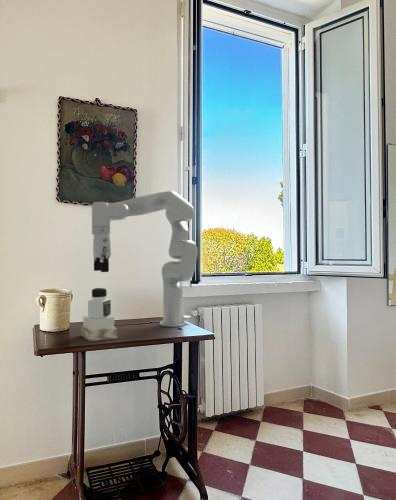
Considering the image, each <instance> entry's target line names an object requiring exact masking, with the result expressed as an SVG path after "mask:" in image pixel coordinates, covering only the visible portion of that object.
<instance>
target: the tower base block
mask: <svg viewBox="0 0 396 500" xmlns="http://www.w3.org/2000/svg"><path fill="white" fill-rule="evenodd" d="M80 329H81V330H80V331H81V334H80V336H81V337H83V338H84V339H85V340H87V341H88V342H94V341H95V342H96V341H105V340H111V339H113V340H114V339H118V334H119V333H118V328H117V327H116V326H114V328H111V329H102V330H93V331H91V330H89V329H87V328H85V327H83V325H82V326H80Z"/></svg>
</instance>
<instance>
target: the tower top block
mask: <svg viewBox="0 0 396 500" xmlns="http://www.w3.org/2000/svg"><path fill="white" fill-rule="evenodd" d="M82 317H83V318H82V319H83V320H82V321H83V324H82V326H83V327H85V328H87V329H89V330H91V331H93V330H102V329H111V328H114V327H115V317H114V316H111V315H109V316H107V317H105V318H88V315H83V316H82Z"/></svg>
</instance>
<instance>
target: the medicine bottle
mask: <svg viewBox="0 0 396 500" xmlns="http://www.w3.org/2000/svg"><path fill="white" fill-rule="evenodd" d="M107 295H108V293H107V288H104V287H95V288H93V289H92V290H91V299H90V300H88V301H87V314H88V315H87V316H88V318H105V317H107V316H111V314H112V310H111V306H112V305H111V303H112V301H111V298H107Z"/></svg>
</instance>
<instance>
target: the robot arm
mask: <svg viewBox="0 0 396 500" xmlns="http://www.w3.org/2000/svg"><path fill="white" fill-rule="evenodd" d="M164 210H165V217H166V219H167V221H168V222H169V224H170V226H171V230H172V232H171V236H170V237H171V238H170V242H169V247H168V255H169V257H170V258H171V259H173V260H180V261H173V260H172V261H167V262H166V263H164V264H163V265H162V268H161V277H162V283H163V284H162V285H163V290H162V291H163V298H162V301H163V302H162V303H163V304H162V320H161V321H160V322H159V325H160V326H162V327H166V328H167V327H168V328H169V327H170V328H173V327H176V328H177V327H182V326H185V325H186V322H185V321H189V320H191V319H192V318H191V316H190V315H184V314H183V286H182V283H181V282H183V283H184V282H189V281H190V280H191V279H193V276H194V273H195V269H196V265H197V259H198V252H199V251H198V246H197V244H196V243H195V242H194V241H193V240H189V236H190V235H189V234H190V231H189V230H190V229H189V227H188V224H187V223H186V222H189V221H192V220H193V219H194V217H195V215H196V213H195V208H194V206H193V205H192V204H191V203H190V202H189V201H187V199H184V197H182V196H181V195H180V194H179V193H177V192H176V191H172V190H168V191H160V192H155V193H151V194H146V195H142V196H136V197H133V198H130V199H127V200H125V199H124V200H121V201H116V202H108V201H107V202H105V201H94V202H92V205H91V235H93V241H92V242H93V243H92V255H93V271H94V272H98V271H99V272H101V273H109V272H110V270H109V269H110V264H109V263H110V258H111V257H112V252H111V237H110V235H111V221H113V222H114V221H123V220H125V219H127V217H134V216H136V217H137V216H138V217H139V216H144V215H148V214H152V213H156V212H159V211H164Z"/></svg>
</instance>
